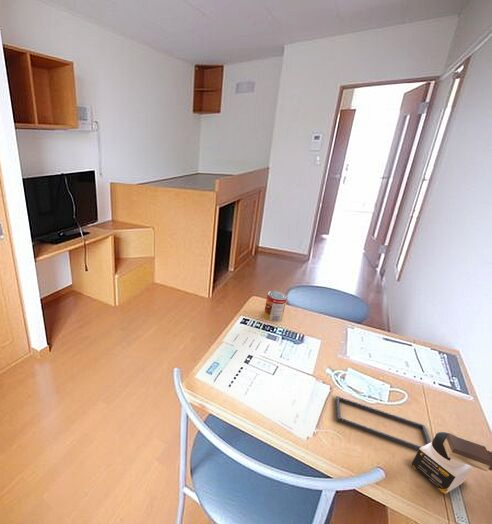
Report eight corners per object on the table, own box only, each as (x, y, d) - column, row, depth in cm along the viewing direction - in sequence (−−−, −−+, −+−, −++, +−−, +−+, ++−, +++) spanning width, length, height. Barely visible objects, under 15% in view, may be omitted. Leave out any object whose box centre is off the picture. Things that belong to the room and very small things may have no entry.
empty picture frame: (421, 430, 86) (424, 425, 85) (431, 458, 78) (434, 452, 78) (335, 400, 95) (336, 395, 94) (336, 423, 88) (338, 417, 87)
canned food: (276, 313, 142) (281, 290, 137) (285, 322, 135) (290, 299, 130) (260, 313, 142) (264, 290, 137) (268, 323, 134) (272, 299, 130)
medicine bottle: (409, 467, 76) (426, 433, 71) (426, 457, 78) (445, 424, 74) (443, 496, 70) (465, 461, 65) (461, 484, 72) (484, 450, 68)
